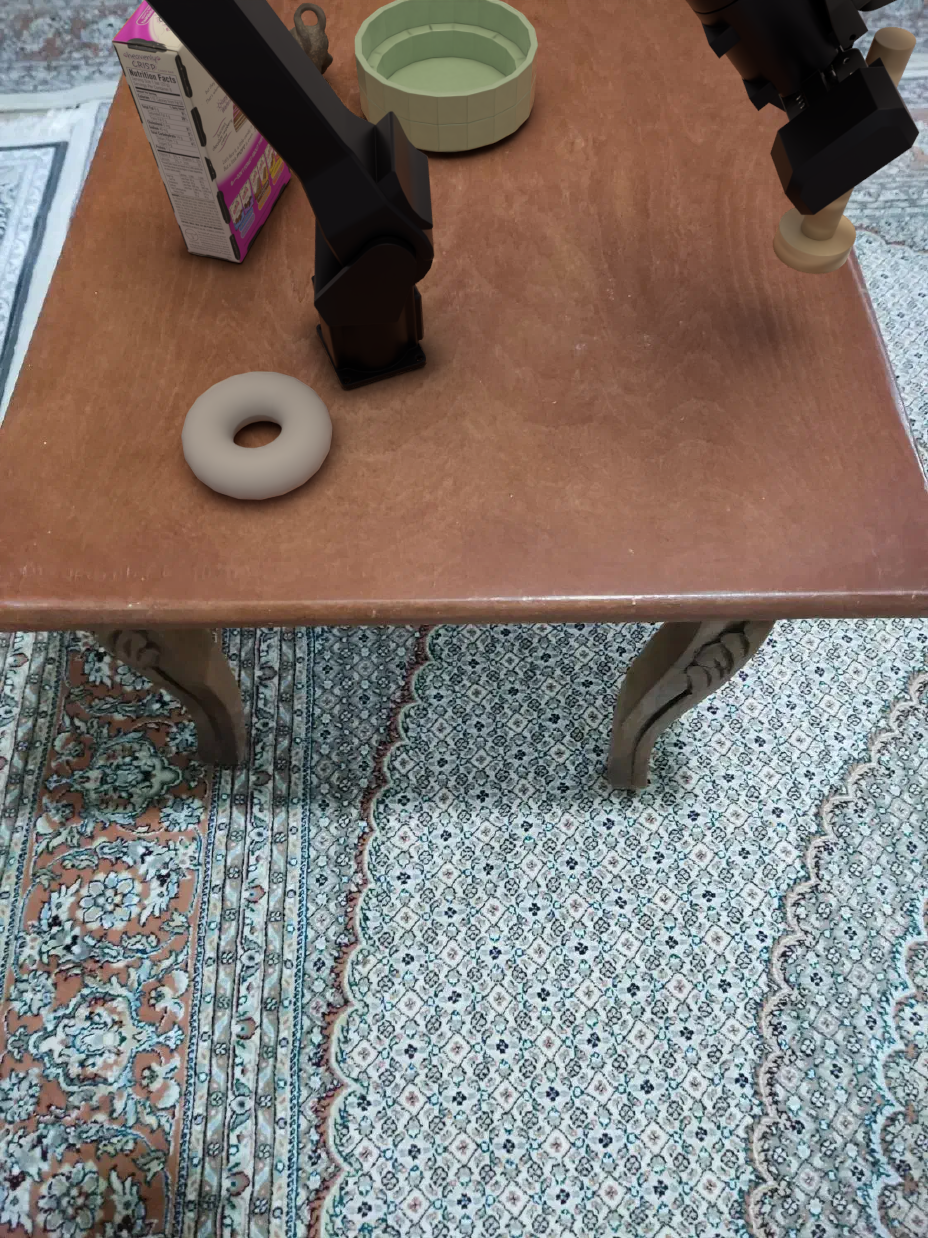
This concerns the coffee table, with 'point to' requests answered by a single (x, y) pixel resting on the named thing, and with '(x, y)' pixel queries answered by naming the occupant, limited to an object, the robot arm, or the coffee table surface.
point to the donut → (266, 465)
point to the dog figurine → (313, 36)
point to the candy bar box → (199, 142)
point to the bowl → (448, 70)
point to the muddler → (829, 232)
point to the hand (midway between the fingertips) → (868, 156)
